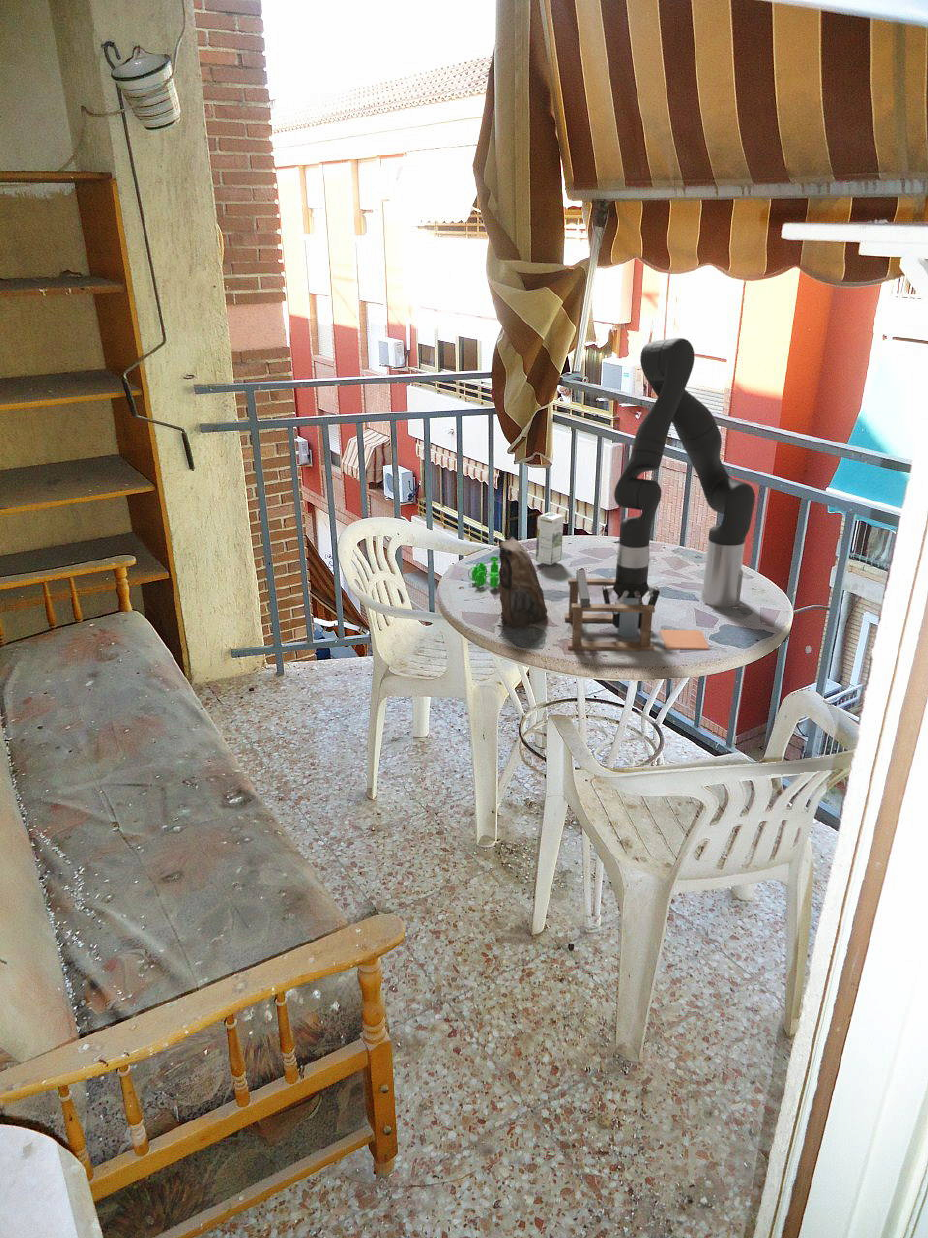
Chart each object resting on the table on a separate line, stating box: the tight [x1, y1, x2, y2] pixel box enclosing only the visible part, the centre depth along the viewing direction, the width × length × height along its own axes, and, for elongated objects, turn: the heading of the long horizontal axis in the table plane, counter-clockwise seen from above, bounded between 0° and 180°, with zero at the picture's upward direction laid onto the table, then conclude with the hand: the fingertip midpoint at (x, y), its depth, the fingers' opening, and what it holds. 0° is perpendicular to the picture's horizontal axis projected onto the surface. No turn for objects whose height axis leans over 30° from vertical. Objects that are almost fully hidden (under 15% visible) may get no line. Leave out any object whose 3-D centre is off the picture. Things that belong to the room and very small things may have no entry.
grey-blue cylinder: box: [616, 598, 639, 638], centre depth 208 cm, size 5×5×10 cm
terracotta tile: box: [659, 629, 710, 650], centre depth 205 cm, size 10×10×1 cm
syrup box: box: [535, 512, 565, 566], centre depth 257 cm, size 6×6×14 cm
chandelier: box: [468, 556, 499, 589], centre depth 244 cm, size 15×15×7 cm
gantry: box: [564, 577, 656, 651], centre depth 208 cm, size 20×20×11 cm
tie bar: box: [575, 569, 591, 607], centre depth 206 cm, size 2×19×2 cm, turn 176°
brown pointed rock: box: [496, 536, 549, 629], centre depth 216 cm, size 13×13×20 cm
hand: (627, 626), depth 209 cm, fingers closed on grey-blue cylinder, 5 cm apart
